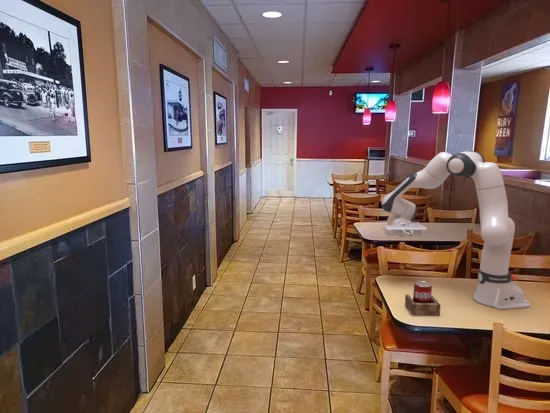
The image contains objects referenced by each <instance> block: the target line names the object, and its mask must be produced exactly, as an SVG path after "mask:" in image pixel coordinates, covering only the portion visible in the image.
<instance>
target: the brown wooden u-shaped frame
mask: <svg viewBox="0 0 550 413" xmlns="http://www.w3.org/2000/svg"><path fill="white" fill-rule="evenodd" d="M404 296H405V297H404V306H405V307H406V308H405V309H407V311H408V312H409V314H410V315H411V316H416V317H417V316H422V317H423V316H424V317H425V316H427V317H431V316H432V317H433V316H435V317H440V315H441V303H440V302H439V301H438V300H437V299H436V298H435V297H434V296H433V295H432V294H431V303H415V302H414V301H413V297H411V295H410V294H405V295H404Z"/></svg>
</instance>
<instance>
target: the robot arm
mask: <svg viewBox="0 0 550 413" xmlns="http://www.w3.org/2000/svg"><path fill="white" fill-rule="evenodd" d="M485 161H486V160H485V157H484V156H483V154H481V152H478V151H475V150H471V151H461V152H457V153H454V154H451V153H450V152H447V151H441V152H439V153H438V154H436V155H435V156H434V157H433V158H432V159H431V160H430V161H429V162H428V163H427V165H426V166H425V167H424V168H423V169H421V170H419V171H417V172H412V173H411V174H409V175H408V176H406V178H405V179H403V180H402V181H401V182H400V183H399V184H398V185H397V186H396V187H395V188H394V189H392V190H391V191H390V192H388V193H386V195H385V196H384V197H383V198H382V199H381V201H380V204H381V208H382V210H383V211H384V212H387V213H390V215H389V216H388V217H387V221H386V222H387V225H385V226H384V227H382V231H384V234H385V235H386V236H388V237H389V236H392V237H393V236H394V237H396V236H397V237H400V238H404V237H414V236H415V237H416V236H417V237H422V236H423V237H426V236H428V228H427V227H426V226H425V225H423V224H421V223H420V222H418V221H414V220H415V218H416V216H417V215H418V214H417V213H418V208H417V205H416V204H415V203H413V202H412V201H410V200H407V199H405V198H402V197H401V196H402V195H403V194H405V193H406V192H407V191H409V189H414V188H417V189H418V188H419V189H427V190H433V189H436V188H439V187H440V186H441V185H442V184H443V183H444V182H445V181H446V179H447V178H448V177H449V176H450V175H451V176H454V177H458V178H465V179H467V178H468V179H469V178H472V179H473V181H474V184H475V185H474V186H475V191H476V194H477V201H478V207H479V224H480V236H481V239H482V241H484V243H483V247H482V251H481V256H480V266H479V269H478V275H477V285H476V289H475V292H474V294H473V296H472V299H474V300H475V301H476V302H477V303H480V304H482V305H485V306H487V307H488V306H490V307H492V308H496V309H498V310H511V309H522V308H523V309H524V308H530V307H531V306H530V305H531V304H530V302H529V301H528V300H527V299H526V298H525V293H524V291H523V289H522V288H521V287H520V286H519V285H517V284H516V283H515V282H514V281H516V280H517V275H515V274H512V273H510V272H509V268H510V258H511V254H512V253H511V252H512V249H513V243H514V236H515V231H516V225H515V222H514V220H513V219H512V218H511V217H509V208H508V206H509V205H508V204H509V203H508V196H507V192H506V187H505V183H504V179H503V175H502V172H501V170H500V168H499V166H498V164H497V163H495V162H491V161H487V162H485ZM512 280H513V281H512Z"/></svg>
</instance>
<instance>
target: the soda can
mask: <svg viewBox="0 0 550 413" xmlns="http://www.w3.org/2000/svg"><path fill="white" fill-rule="evenodd" d="M432 291H433V285H432V283H430V282H428V281H424V280H417V281H415V282H414V284H413V292H412V294H413V295H412V299H413V301H414V302H415V303H431V295H432Z"/></svg>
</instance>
